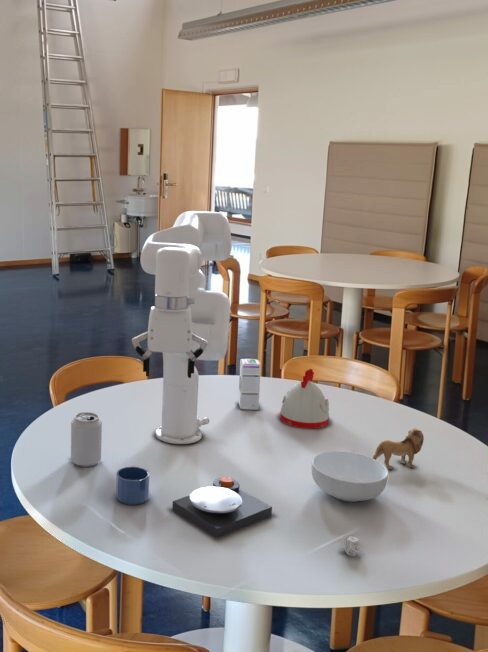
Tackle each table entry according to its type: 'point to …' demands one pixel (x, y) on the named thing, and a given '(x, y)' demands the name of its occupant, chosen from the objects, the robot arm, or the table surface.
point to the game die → (352, 546)
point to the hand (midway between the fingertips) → (168, 375)
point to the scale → (228, 521)
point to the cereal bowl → (349, 475)
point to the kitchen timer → (305, 405)
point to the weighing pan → (215, 499)
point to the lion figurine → (401, 448)
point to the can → (86, 439)
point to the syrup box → (249, 384)
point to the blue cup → (132, 485)
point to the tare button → (226, 481)
